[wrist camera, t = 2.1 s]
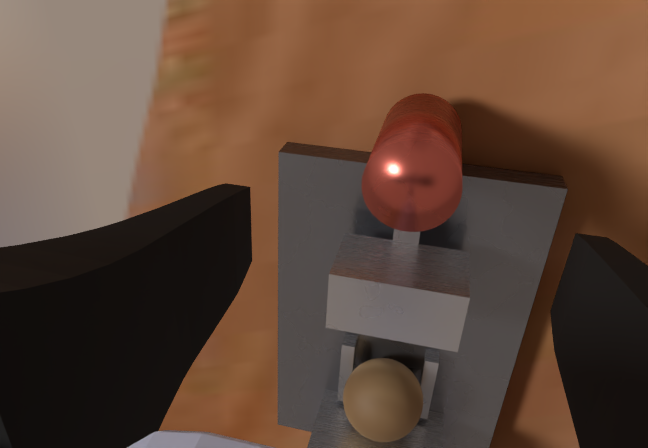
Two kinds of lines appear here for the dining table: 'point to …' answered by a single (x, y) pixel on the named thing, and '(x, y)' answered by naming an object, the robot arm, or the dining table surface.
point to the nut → (383, 400)
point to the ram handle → (406, 234)
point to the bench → (425, 362)
